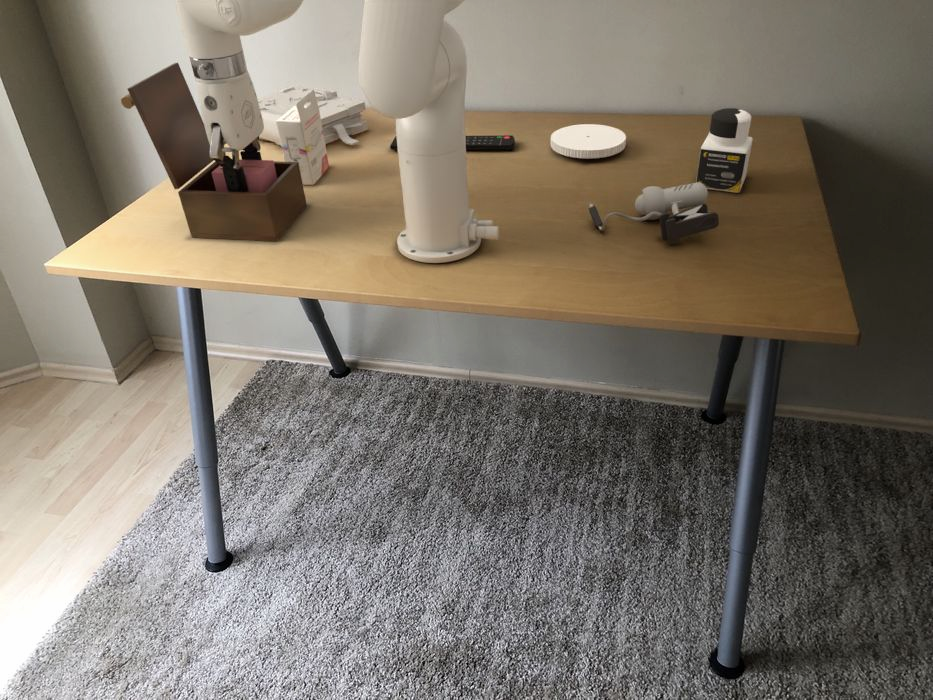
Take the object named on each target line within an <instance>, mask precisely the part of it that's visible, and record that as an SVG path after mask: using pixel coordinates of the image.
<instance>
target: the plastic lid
mask: <svg viewBox="0 0 933 700" xmlns="http://www.w3.org/2000/svg"><path fill="white" fill-rule="evenodd" d="M626 146H627V135H626V133H625V132H624V131H622V130H621V129H619V128H616V127H613V126H611V125H604V124H597V123H587V124H586V123H584V124H582V123H581V124H574V125H573V124H572V125H568V126H564V127H561V128H559V129H557V130H555V131H553V132H552V133H551V135H550V148H551V149H552V151H554V152H555V153H557V154H559V155H562V156H565V157H570V158H573V159H574V158H575V159H576V158H577V159H587V160H589V159H600V158H607V157H612V156H614V155H617V154H619V153H621V152H622V151H624V150H625V148H626Z"/></svg>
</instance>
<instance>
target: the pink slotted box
mask: <svg viewBox="0 0 933 700" xmlns="http://www.w3.org/2000/svg"><path fill="white" fill-rule="evenodd" d="M239 162H240V167H243V170H244V174H245V179H246V183H247V187H248V191H247V192H255V193H264V192H265V191H266V190H267V189H268V188H269V187H270V186H271V185H272V184H273V183H274V182H275V181H276V180H277V174H276V170H275V165H274V160H271V159H268V160H267V159H262V160H242V158H239ZM212 177H213V180H214V184H215V188H216V191H224V192H229V191H228V189H227V186H226V182H225V178H224V174H223V170H222V169H220V166H219V167H218V168H216V169H215V170H214V171H213V172H212Z"/></svg>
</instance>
